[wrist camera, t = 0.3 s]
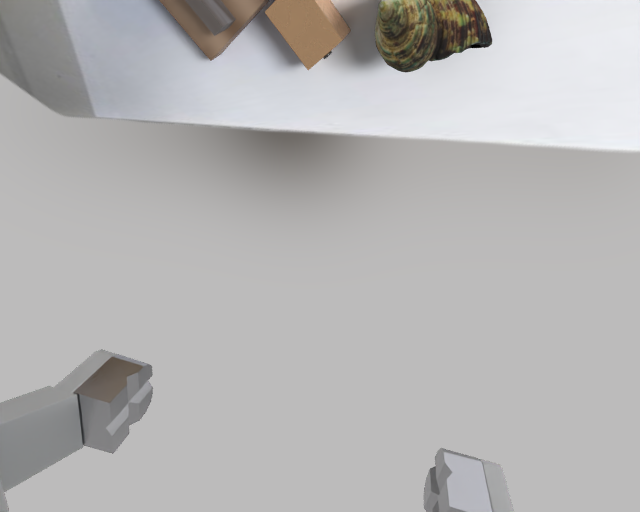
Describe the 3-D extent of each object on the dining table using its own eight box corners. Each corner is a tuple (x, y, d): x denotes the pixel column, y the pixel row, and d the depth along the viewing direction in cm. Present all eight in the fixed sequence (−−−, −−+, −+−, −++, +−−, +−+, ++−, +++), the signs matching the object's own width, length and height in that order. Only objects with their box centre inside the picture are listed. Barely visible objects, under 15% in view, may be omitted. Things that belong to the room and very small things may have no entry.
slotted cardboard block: (310, -31, 47) (297, -24, 44) (352, 32, 50) (343, 42, 47) (278, 4, 50) (264, 12, 47) (319, 60, 54) (309, 72, 50)
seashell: (417, 87, 53) (410, 117, 45) (365, 10, 48) (349, 29, 41) (496, 31, 46) (502, 56, 39) (444, -63, 42) (441, -55, 35)
